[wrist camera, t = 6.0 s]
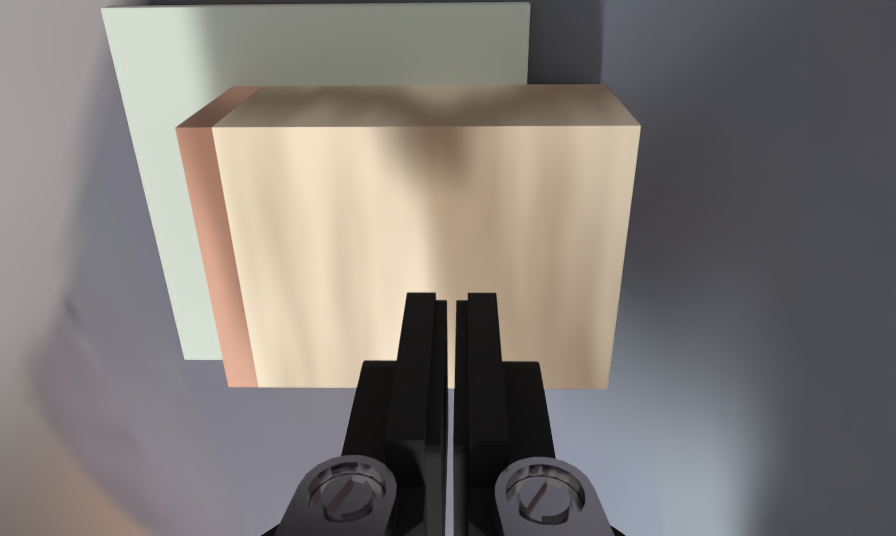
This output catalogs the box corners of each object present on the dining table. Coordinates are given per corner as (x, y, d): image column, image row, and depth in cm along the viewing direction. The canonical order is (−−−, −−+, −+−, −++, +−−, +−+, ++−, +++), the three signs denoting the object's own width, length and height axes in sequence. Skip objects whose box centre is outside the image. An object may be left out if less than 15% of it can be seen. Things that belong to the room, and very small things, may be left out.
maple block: (640, 125, 14) (175, 127, 14) (607, 389, 17) (228, 386, 18) (605, 83, 18) (232, 85, 18) (583, 309, 21) (268, 308, 21)
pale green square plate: (529, 1, 17) (530, 4, 17) (513, 352, 22) (514, 361, 22) (109, 5, 17) (100, 8, 17) (190, 351, 23) (184, 359, 22)
